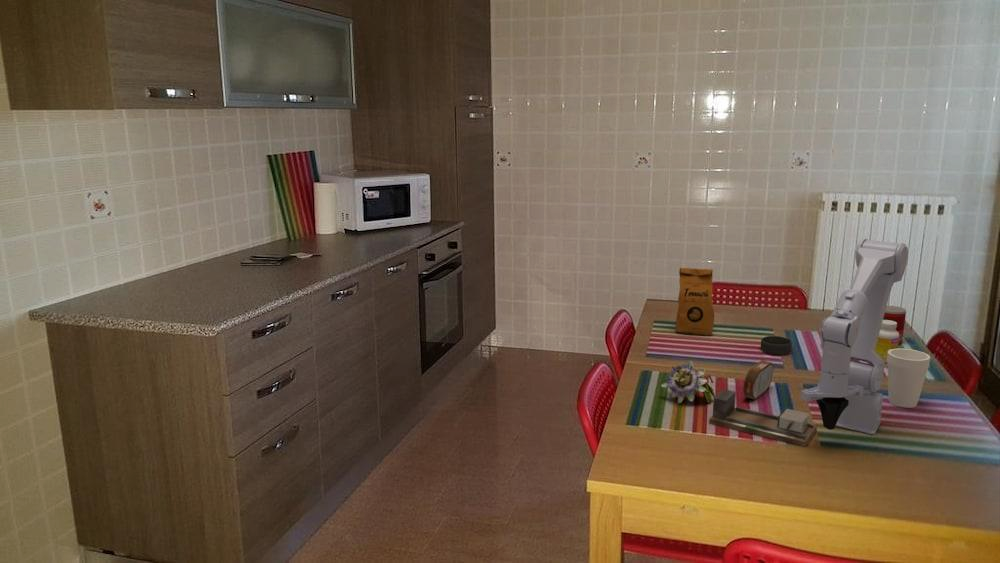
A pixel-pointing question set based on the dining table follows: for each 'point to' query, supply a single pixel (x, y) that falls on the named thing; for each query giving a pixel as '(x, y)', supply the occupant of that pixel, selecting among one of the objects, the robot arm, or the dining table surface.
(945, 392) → the dining table surface
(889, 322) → the supplement bottle
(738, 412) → the base
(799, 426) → the block
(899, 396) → the foam cup
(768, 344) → the smart speaker
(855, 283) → the robot arm
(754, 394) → the tin
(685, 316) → the coffee package
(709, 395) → the passion flower
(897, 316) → the canned food
